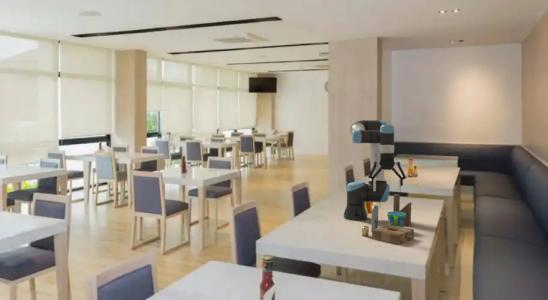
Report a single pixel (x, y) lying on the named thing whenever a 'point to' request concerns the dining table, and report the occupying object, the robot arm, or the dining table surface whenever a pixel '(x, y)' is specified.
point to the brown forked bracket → (405, 210)
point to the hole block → (393, 234)
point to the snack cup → (396, 218)
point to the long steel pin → (374, 217)
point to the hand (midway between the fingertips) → (387, 191)
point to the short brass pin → (365, 231)
